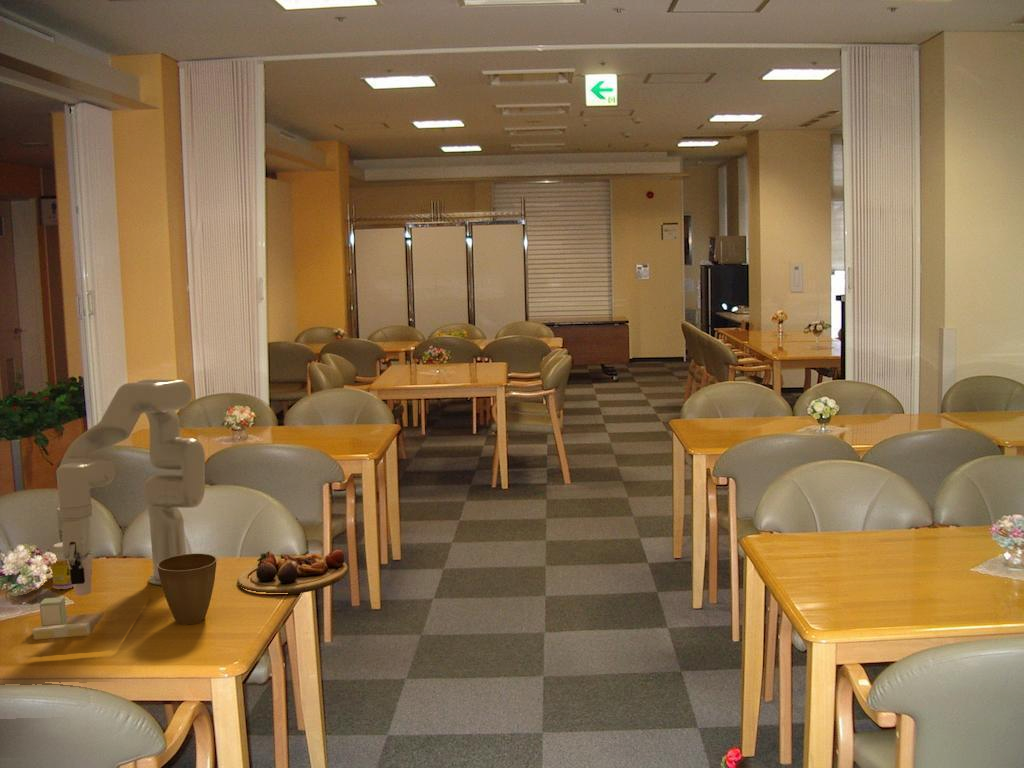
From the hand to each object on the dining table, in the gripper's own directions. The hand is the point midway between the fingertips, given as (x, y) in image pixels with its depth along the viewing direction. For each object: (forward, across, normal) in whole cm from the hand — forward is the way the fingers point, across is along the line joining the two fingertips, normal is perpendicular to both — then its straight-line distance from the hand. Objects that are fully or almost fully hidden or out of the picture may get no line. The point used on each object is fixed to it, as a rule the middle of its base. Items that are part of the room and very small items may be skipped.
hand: (81, 578), depth 262 cm
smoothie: (+4, 0, 0) cm, 4 cm away
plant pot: (+14, 0, +27) cm, 30 cm away
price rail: (+13, +7, -4) cm, 16 cm away
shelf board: (+13, 0, -4) cm, 14 cm away
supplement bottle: (+13, -37, -15) cm, 42 cm away
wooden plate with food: (+14, -30, +51) cm, 61 cm away
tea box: (+12, -1, -8) cm, 15 cm away
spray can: (+13, -53, -17) cm, 58 cm away
